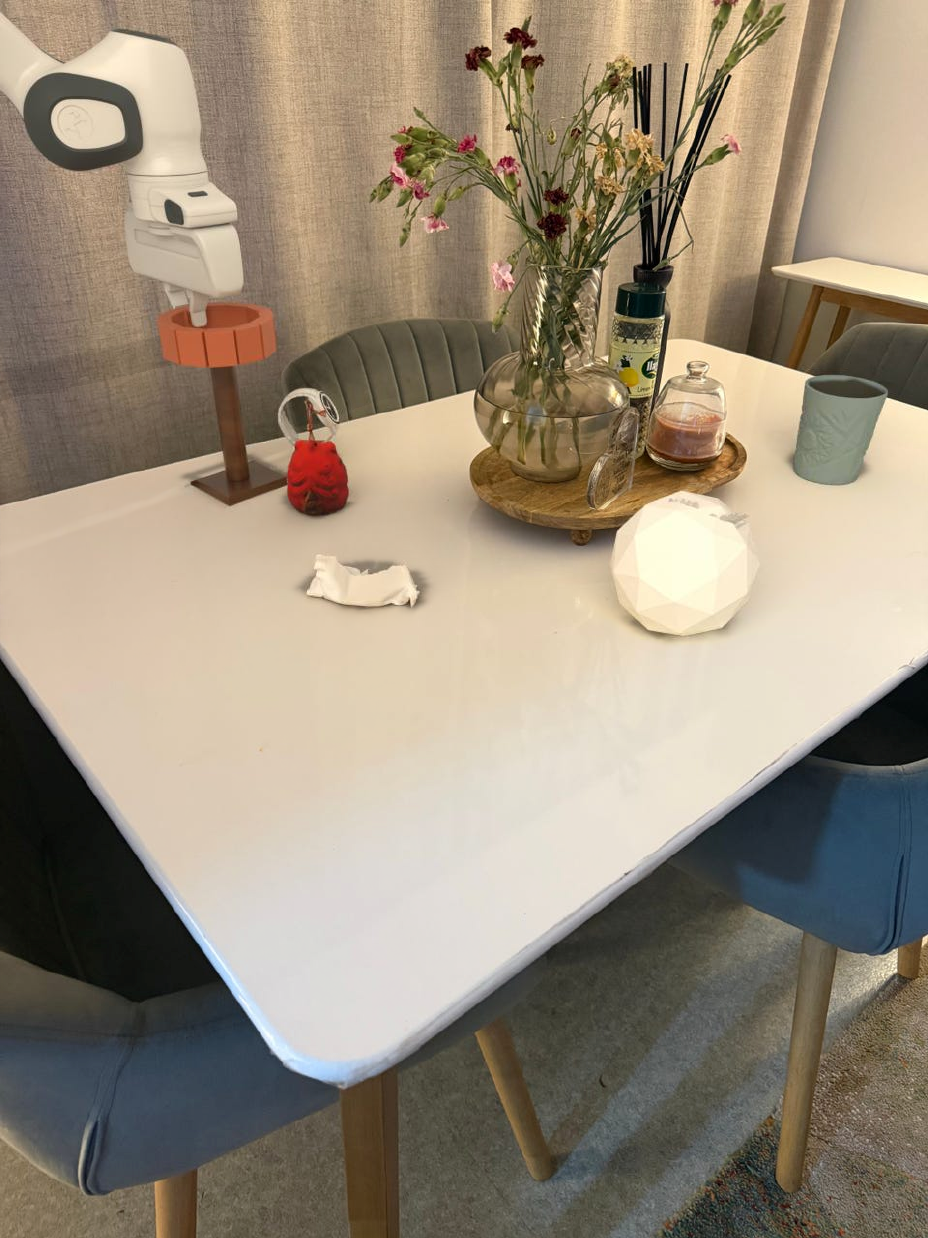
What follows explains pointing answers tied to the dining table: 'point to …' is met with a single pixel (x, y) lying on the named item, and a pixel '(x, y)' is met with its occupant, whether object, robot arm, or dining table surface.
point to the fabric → (362, 584)
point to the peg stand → (235, 449)
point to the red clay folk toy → (316, 474)
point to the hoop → (218, 335)
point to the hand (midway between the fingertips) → (191, 322)
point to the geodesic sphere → (684, 564)
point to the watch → (319, 403)
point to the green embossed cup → (836, 427)
